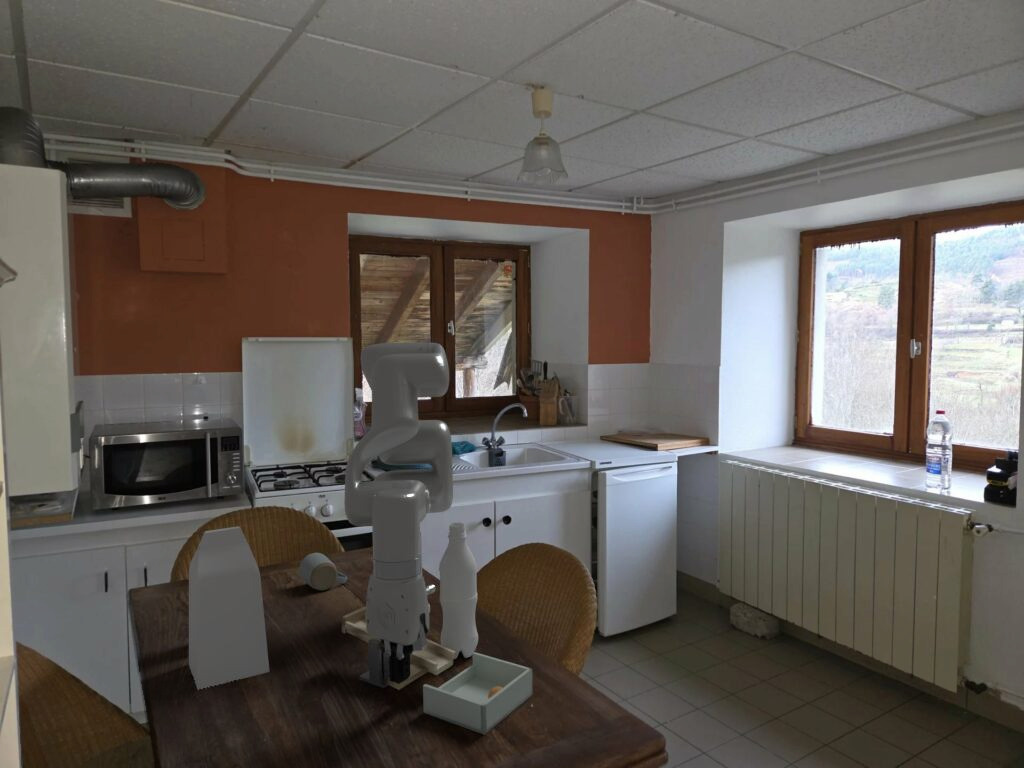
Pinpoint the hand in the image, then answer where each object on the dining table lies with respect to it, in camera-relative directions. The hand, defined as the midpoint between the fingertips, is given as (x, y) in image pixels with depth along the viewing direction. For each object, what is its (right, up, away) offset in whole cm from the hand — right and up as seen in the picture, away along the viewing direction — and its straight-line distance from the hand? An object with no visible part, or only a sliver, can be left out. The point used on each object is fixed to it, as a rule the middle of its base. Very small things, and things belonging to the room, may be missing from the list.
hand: (400, 678), depth 112 cm
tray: (+13, -5, +2) cm, 14 cm away
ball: (+16, -3, 0) cm, 16 cm away
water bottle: (+8, -4, +21) cm, 23 cm away
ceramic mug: (-28, -2, +59) cm, 66 cm away
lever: (-4, 0, +9) cm, 10 cm away
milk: (-34, -5, +16) cm, 38 cm away
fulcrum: (-4, -5, +13) cm, 14 cm away
